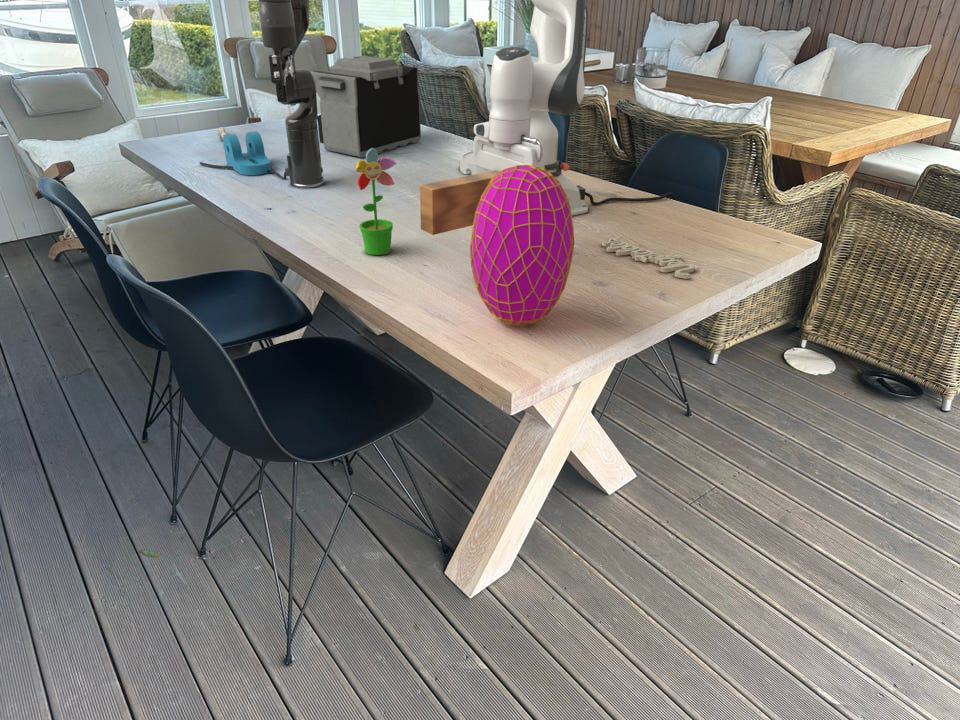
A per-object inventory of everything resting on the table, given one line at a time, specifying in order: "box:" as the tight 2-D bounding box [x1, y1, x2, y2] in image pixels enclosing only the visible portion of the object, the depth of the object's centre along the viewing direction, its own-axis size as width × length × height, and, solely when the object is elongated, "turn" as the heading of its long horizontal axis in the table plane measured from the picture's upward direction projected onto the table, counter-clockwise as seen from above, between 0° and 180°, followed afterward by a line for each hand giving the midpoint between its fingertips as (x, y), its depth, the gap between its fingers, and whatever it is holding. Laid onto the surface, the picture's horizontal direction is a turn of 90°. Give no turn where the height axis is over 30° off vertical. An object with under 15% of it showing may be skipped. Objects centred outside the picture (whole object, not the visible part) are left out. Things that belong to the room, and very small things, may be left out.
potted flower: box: [355, 148, 397, 256], centre depth 160 cm, size 9×8×25 cm
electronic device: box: [310, 55, 422, 159], centre depth 250 cm, size 37×22×30 cm, turn 144°
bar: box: [419, 171, 499, 236], centre depth 149 cm, size 25×4×10 cm, turn 129°
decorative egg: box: [469, 165, 576, 326], centre depth 128 cm, size 19×19×30 cm
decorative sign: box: [601, 237, 696, 280], centre depth 164 cm, size 26×1×10 cm
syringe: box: [218, 127, 229, 142], centre depth 264 cm, size 25×4×3 cm, turn 21°
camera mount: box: [222, 131, 272, 176], centre depth 226 cm, size 18×10×10 cm, turn 35°
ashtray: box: [459, 149, 490, 175], centre depth 231 cm, size 23×23×4 cm
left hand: (286, 98), depth 165 cm, fingers open, 8 cm apart
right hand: (506, 194), depth 154 cm, fingers closed on bar, 4 cm apart
